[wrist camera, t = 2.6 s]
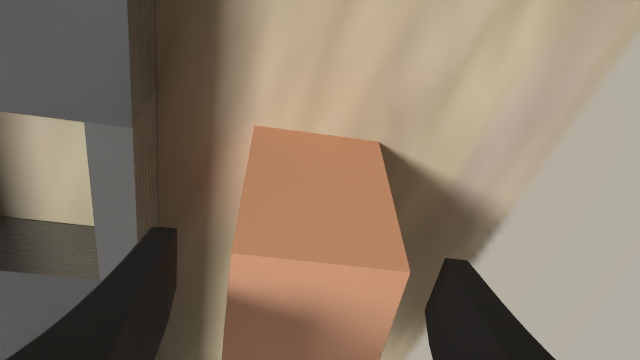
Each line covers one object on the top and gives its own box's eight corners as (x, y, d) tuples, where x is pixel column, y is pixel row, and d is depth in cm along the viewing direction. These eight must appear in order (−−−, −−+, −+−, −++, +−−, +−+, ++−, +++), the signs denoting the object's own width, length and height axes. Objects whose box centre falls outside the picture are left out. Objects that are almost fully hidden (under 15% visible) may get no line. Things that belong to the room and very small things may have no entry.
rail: (160, 389, 23) (146, 443, 21) (-26, 375, 22) (-60, 430, 20) (150, -335, 10) (110, -380, 8) (-295, -434, 9) (-468, -513, 7)
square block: (354, 237, 19) (372, 381, 14) (244, 224, 18) (220, 368, 13) (378, 141, 16) (410, 272, 11) (254, 125, 16) (231, 253, 11)
